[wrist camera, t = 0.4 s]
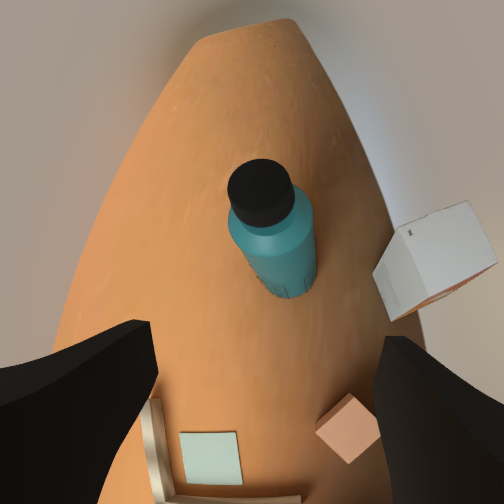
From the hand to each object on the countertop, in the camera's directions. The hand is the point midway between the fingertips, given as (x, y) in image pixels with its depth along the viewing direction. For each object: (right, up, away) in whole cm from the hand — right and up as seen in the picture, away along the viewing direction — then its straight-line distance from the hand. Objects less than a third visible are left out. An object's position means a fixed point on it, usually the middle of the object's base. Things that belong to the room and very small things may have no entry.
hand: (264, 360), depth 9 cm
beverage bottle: (+4, 0, +28) cm, 28 cm away
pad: (-5, -21, +21) cm, 30 cm away
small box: (+18, -1, +24) cm, 30 cm away
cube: (+10, -15, +20) cm, 27 cm away
